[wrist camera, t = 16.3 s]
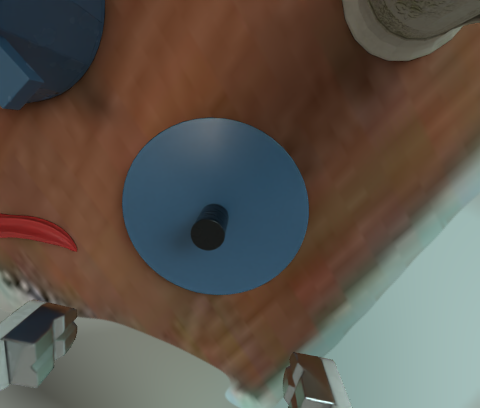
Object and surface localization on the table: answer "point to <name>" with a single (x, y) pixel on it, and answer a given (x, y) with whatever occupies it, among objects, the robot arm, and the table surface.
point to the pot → (46, 47)
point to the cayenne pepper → (34, 230)
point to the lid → (215, 206)
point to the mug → (407, 25)
